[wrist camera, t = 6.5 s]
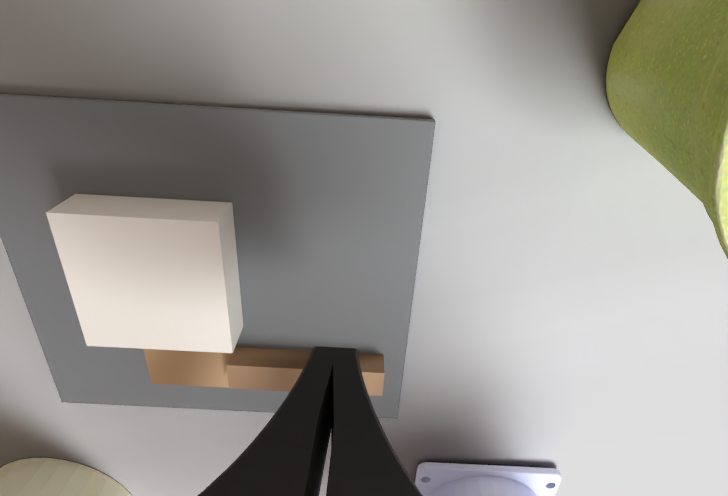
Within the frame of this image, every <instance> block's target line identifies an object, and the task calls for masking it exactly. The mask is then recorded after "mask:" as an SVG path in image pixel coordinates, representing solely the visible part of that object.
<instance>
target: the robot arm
mask: <svg viewBox="0 0 728 496" xmlns="http://www.w3.org/2000/svg"><path fill="white" fill-rule="evenodd" d="M330 432H331V458H330V467H329V476H328V485H327V493H326V496H555V494H556V492H557V489H558V487H559V484H560V482H561V480H562V477H561V474H560V472H559V470H557V469H555V468H540V467H519V466H498V465H477V464H456V463H435V462H424V463H421V464H420V465H418V467H417V472H416V478H415V484H414V482H413V481H412V479H411V478H410V476H409V475H408V473H407V472H406V470H405V469H404V467H403V465H402V464H401V462H400V460H399V459H398V457H397V455H396V454H395V452H394V450H393V448H392V446H391V444H390V443H389V441H388V439H387V437H386V435H385V433H384V431H383V429H382V426H381V424H380V422H379V420H378V417H377V415H376V413H375V410H374V408H373V405H372V403H371V400H370V397H369V395H368V392H367V389H366V386H365V383H364V379H363V376H362V372H361V367H360V362H359V352H358V351H357V350H356V349H355V348H339V347H320V346H316V347H314V348H313V349H312V351H311V353H310V356H309V358H308V360H307V362H306V365H305V366H304V368H303V370H302V372H301V374H300V376H299V378H298V379H297V381H296V383H295V384H294V386H293V387H292V389H291V391H290V392H289V394H288V396H287V397H286V399H285V400H284V402H283V403H282V404H281V406H280V407H279V409H278V410H277V411H276V413H275V414H274V416H273V417H272V418H271V420H270V421H269V422H268V424H267V425H266V426H265V427H264V429H263V430H262V431H261V432H260V434H259V435H258V436H257V437H256V438H255V440H254V441H253V442H252V443H251V444H250V445H249V446H248V447H247V449H246V450H245V451H244V452H243V453H242V454H241V455H240V456H239V457H238V458H237V459H236V460H235V461H234V462H233V463H232V464H231V466H230V467H228V468H227V469H226V470H225V471H224V472H223V473H222V474H221V475H220V476H219V477H218V478H217V479H216V480H215V481H214V482H212V483H211V484H210V485H209V486H208V487H207V488H206V489H205V490H204V491H203V492H201V493H200V494H199V495H198V496H319V491H320V486H321V481H322V475H323V470H324V464H325V459H326V454H327V448H328V443H329V438H330Z"/></svg>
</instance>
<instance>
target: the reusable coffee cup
mask: <svg viewBox="0 0 728 496" xmlns="http://www.w3.org/2000/svg"><path fill="white" fill-rule="evenodd" d="M0 496H132V495H131V494H130V493H129V492H128V491H127V490H126V489H125V488H124V487H123V486H122V485H121V484H119V483H118V482H117V481H115V480H114V479H112V478H111V477H109V476H107V475H105V474H103V473H101V472H99V471H97V470H95V469H93V468H90V467H87V466H85V465H82V464H79V463H75V462H71V461H67V460H61V459H53V458H28V459H21V460H17V461H14V462H11V463H7V464H6V465H4V466H2V467H1V468H0Z"/></svg>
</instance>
